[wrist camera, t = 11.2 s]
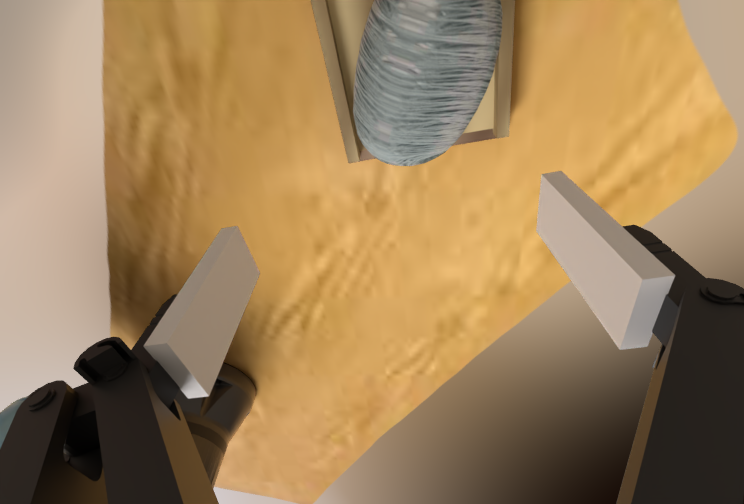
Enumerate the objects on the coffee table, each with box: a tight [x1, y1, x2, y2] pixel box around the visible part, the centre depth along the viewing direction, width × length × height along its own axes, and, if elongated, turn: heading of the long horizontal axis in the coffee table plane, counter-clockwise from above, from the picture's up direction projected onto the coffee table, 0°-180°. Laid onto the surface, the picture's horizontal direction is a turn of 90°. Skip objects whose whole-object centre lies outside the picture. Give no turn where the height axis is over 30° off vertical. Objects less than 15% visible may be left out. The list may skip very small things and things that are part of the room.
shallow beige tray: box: [311, 0, 515, 163], centre depth 28 cm, size 14×15×2 cm
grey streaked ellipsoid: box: [353, 0, 503, 166], centre depth 25 cm, size 14×10×10 cm
